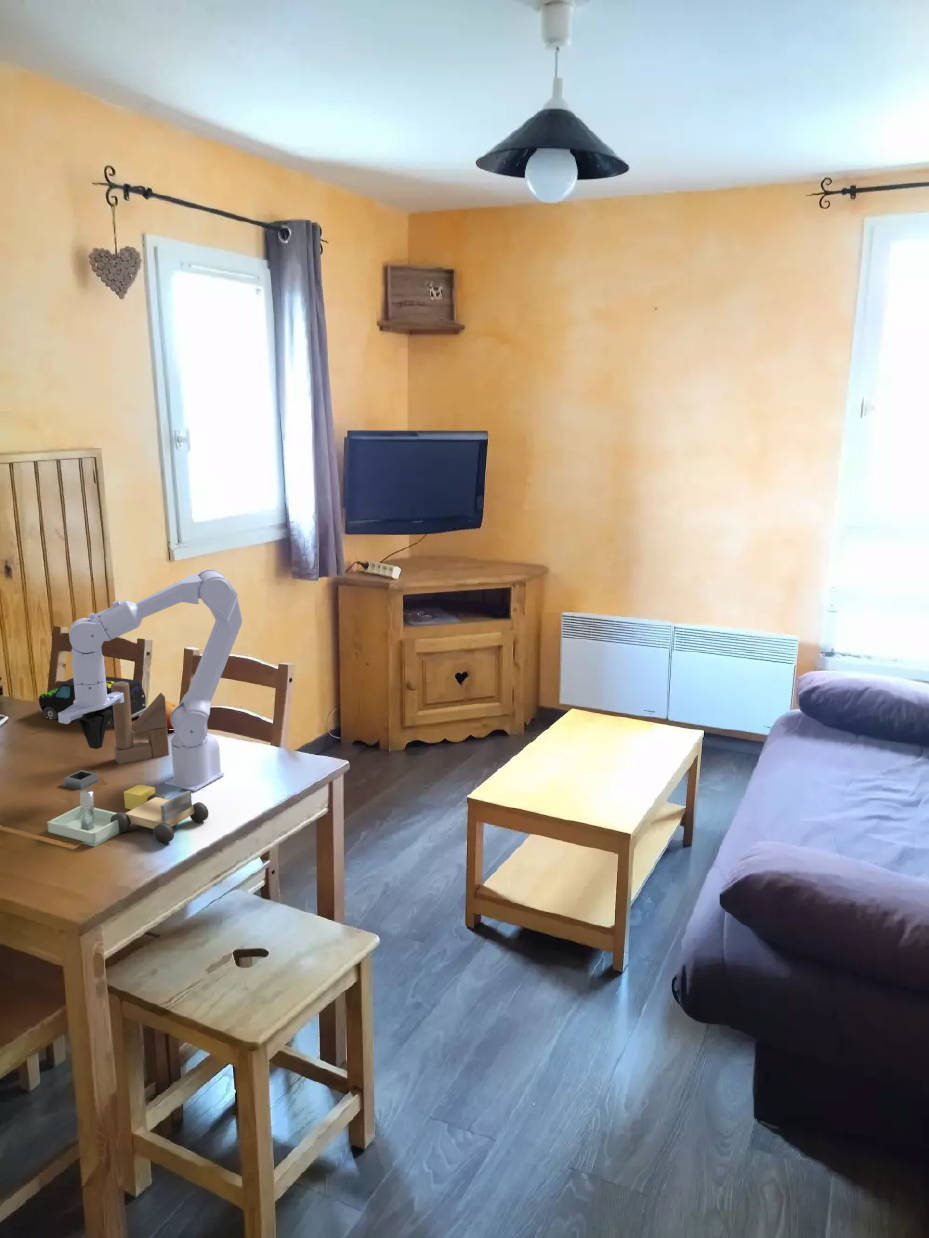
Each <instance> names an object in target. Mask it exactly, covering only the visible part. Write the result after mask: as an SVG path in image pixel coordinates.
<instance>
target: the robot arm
mask: <svg viewBox="0 0 929 1238" xmlns="http://www.w3.org/2000/svg"><path fill="white" fill-rule="evenodd" d="M199 600H201V601H202V603H204V605H205V606H207V608H208V609H209V610H210V612H211V614H212V616H213V618H214V620H215V622H214V624H213V626H212V629H211V632H210V634H209V637H208V640H207V642H206V644H205V646H204V649H203V652H202V655H201V658H200V659H199V661H198V665H197V667H196V670H195V672H194V675H193V677H192V680H191V683H190V685H189V688H188V690H187V692H186V693H185V694H184V695H183V697H181V698H182V699H181V701H180V702H179V704H177V705H178V706H177V707H176V708H175V709H174V710H173V712H172V713H171V717H170V721H171V725H172V726H173V728H174V735H173V736H172V737H171V740H170V742H171V743H170V744H171V746H170V747H171V756H172V757H171V758H172V759H171V761H172V770H173V771H172V772H173V778H170V779H168V780H166V781H165V782H164V784H166V785H169V786H175V787H179V788H180V789H182V790H184V791H185V790H186V791H191V792H196V791H198V790H200V789H201V788H203V787H205V786H207V785H210V784H211V783H212V782H215V781H216V780H218V779H220V778H223V776H224V775H225V773H224V772H222V771H221V754H220V745H219V742H218V740H217V738H216V737H215V736H213V735H212V734H210V733H208V731H209V730H208V729H209V728H208V720H209V717H210V715H211V713H210V712H211V705H212V704H211V703H212V700H213V697H214V696H215V693H216V690H217V689H218V684H219V682H220V679H221V677H222V676H223V675H222V674H223V672H224V670H225V667H226V665H227V662H228V659H229V657H230V654H231V652H232V649H233V646H234V644H235V641H236V639H237V637H238V634H239V631H240V629H241V627H242V623H243V616H242V612H241V608H240V604H239V598H238V593H237V591H236V589H235V588H234V586H233V585H232V583H231V582H230V581H229V580H228V579H227V578H226V577H225V576H224V575H223V574H222V573H221V572H220V571H219V570H215V569H204V570H203V571H200V572H199V573H198V574H197V573H193V574H190V575H189V576H186V577H185V578H183V579H181V580H179V581H177V582H174V583H173V584H170V585H168V586H166V587H165V588H162V589H160V590H159V591H156V592H154V593H153V594H151V595H148V596H147V597H146V596H145V598H142V599H141V600H138V601H137V602H132V601H130V600H123V601H121V602H120V601H119V600H115V601H113V602H112V606H109V607H108V608H106V609H104V610H102V611H99V612H97V613H94V612H91V613H89V614H88V618H87V617H81V618H78V619H76V620H75V621H74V622H73V623H71V625H70V628H69V632H68V637H69V642H70V646H71V648H72V649H71V650H70V651H71V657H72V658H71V665H72V667H71V668H72V678H73V679H74V690H75V701H73V702H74V704H73V705H72V706H70V707H69V708H67V709H65V710H64V711H62V712H59V713H58V719H57V720H58V723H60V724H64V725H68V724H69V723H71V722H72V721H75V722H76V723H77V725H78V726H79V728H80V729H81V730H82V732H83V735H84V737H85V738H86V739H85V740H86V742H87V745H88V746H89V749H94V750H99V749H100V748H102V747H103V743H104V739H105V733H106V729H107V727H108V726H107V724H108V722H109V720H110V718H111V716H112V711H111V710H106V707H108V706H111V705H114V704H116V703H123V702H124V694H123V693H121V692H114V693H110V694H107V688H106V668H105V667H106V665H105V657H104V655H103V649H102V646H103V644H104V642H110V641H112V640H114V639H116V638H118V637H120V636H122V635H125V634H127V633H129V632H131V631H133V630H135V629H138V628H140V626H141V624H142V621H143V619H144V618H146V617H149V616H151V615H154V614H156V613H159V612H161V611H163V610H166V609H169V608H171V607H173V606H175V605H178V604H181V603H187V604H192V605H199V604H200V603H199Z"/></svg>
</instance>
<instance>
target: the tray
mask: <svg viewBox="0 0 929 1238" xmlns="http://www.w3.org/2000/svg"><path fill="white" fill-rule="evenodd" d="M117 813H118V812H115V811H110V810H106V809H101V808H98V807H94V828H93V829H91V830H83V829H81V805H78V806H77V807H75V808H73V809H71V810H69V811H66V812H65V813H63V814H60V815H59V816H57V817H54V818H52V819H51V820H49V821H47V822H46V824H47V832H48V833H51V834H53V835H54V834H55V835H58V836H62V837H66V838H70V839H74V840H77V841H81V842H80V844H81V845H86V846H89V847H94V848H96V847H97V846H98V845H100V844H102V843H104V842H106V841H108V840H110V839H112V838H113V837H116V836H117V835H118V834H120V833H119V824H118V820H115V821H113V822H111V817H112V816H113V815H115V814H117Z"/></svg>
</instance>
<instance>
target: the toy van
mask: <svg viewBox="0 0 929 1238" xmlns="http://www.w3.org/2000/svg"><path fill="white" fill-rule="evenodd" d="M105 676H106V675H105ZM120 681H124V682H128V683H129V693H130V706H131V718H132V719H133V718H136V717H137V716H139V715H142V713H143V712H144V711H145V710H146V709H147V708H148V707H147V706H146V700H147V699H146V695H145V694H146V693H145V691H144V689H143V685H142V684H141V681H140V680H137V679H132V678H131V679H130V678H124V677H123V678H122V677H116V676H114V677H113V676H106V688H107V694H110V693H112V692H111V684H112V683H115V682H120ZM38 697H39V698H38V705H39V708H38V709H39V711H40V712H43V713H42V715H43V718H45V717H48V718H52V719H56V720H58V719H57V718H58V713H59V712H62V711H64V710H65V709H67V708H69V707H70V706H72V705H73V704H74V702H73V701H75V690H74V679H73V677H72V678H70V679H68V680H65V681H64V682H63V683H61V684H60V686H59V687H58V688H54V689H52V690H49V691H47V692H44V693H41V694H40V695H39V696H38ZM106 710H111V711H112V716H111V718H110V720H109V722H108V724H107V727H114V716H113V705H111V706H108V707H106Z"/></svg>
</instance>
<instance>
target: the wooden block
mask: <svg viewBox="0 0 929 1238" xmlns="http://www.w3.org/2000/svg"><path fill="white" fill-rule="evenodd" d="M111 692H112V693H114V692H121V693H123V694H124V702H123V703H116V704H114V705H113V716H114V726H113V728H114V736H115V737H114V739H115V746H113V750H114V751H113V752H114V760H115V762H116V763H117V765H124V764H129V763H135V762H139V761H146V760H150V759H156V758H162V757H167V756H169V755H170V750H169V747H170V746H169V735H168V734H169V732H167V718H166V703H165V702H166V696H165V695H164V694H163V692H160V693H159V694H158V695H157V696H156V697H155V699H153V701H152V702H151V703H150V705H148V707H147V709H146V710H145V711H144V712H143V713H141V714H140V716H139V717H138V718H137V719H136V720H135V722H134V723H133V722H132V719H133V718H131V706H130V693H129V683H128V682H124V681H120V682H115V683H112V684H111ZM145 731H147V740H148V742H146V741H145V742H143V741H137V742H136V741H135V742H134V734H133V733H138V732H145Z"/></svg>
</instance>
